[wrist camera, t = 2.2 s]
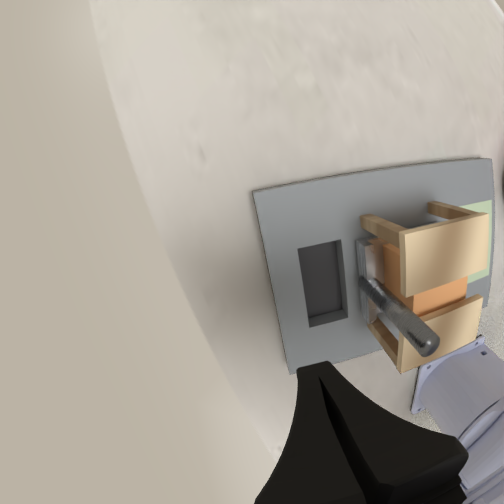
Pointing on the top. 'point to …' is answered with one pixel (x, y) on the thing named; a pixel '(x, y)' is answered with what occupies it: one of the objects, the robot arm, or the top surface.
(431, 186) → the deck
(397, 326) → the sled
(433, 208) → the wooden stool
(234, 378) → the top surface
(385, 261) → the block
